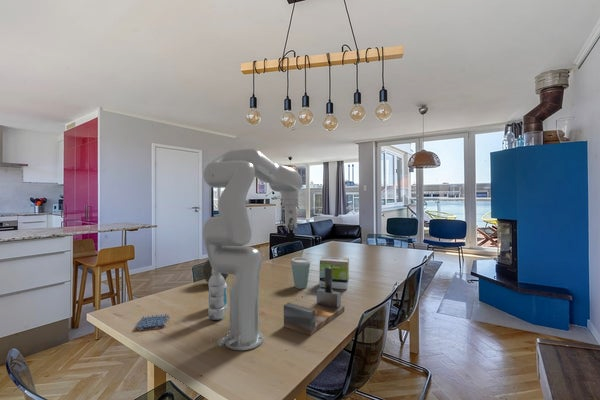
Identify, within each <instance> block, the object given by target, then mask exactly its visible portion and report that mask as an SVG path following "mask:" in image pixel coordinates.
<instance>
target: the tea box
mask: <svg viewBox="0 0 600 400" xmlns="http://www.w3.org/2000/svg"><path fill="white" fill-rule="evenodd" d="M349 259H350V258H349V257H347V258H346V257H345V258H344V257H330V256H322V257H321V258H320V260H319V276H318V277H319V281H318V282H319V288H325V267H331V268H332V289H337V290H339V289H341V290H348V287H349V283H350V282H349V280H350V279H349V276H350V274H349V273H350V271H349V270H350V267H349V265H350V260H349Z"/></svg>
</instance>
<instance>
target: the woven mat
mask: <svg viewBox="0 0 600 400" xmlns="http://www.w3.org/2000/svg"><path fill="white" fill-rule="evenodd" d="M170 318H171V317H170V316H169V314H167V313H166V314H160V315H158V314H156V315H151V316H149V315H147V316H142V318H140V320H139V321H138V323H137V325H135V329H136V330H135V331H136V332H138V331H137V330H138V328H139V330H141V331H140V332H143V330H145V331H151V329H153V330H159V329H160V330H161V329H166V327H167V326H168V322H169V320H170ZM148 329H149V330H148Z"/></svg>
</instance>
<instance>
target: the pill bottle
mask: <svg viewBox="0 0 600 400" xmlns="http://www.w3.org/2000/svg"><path fill="white" fill-rule="evenodd" d="M223 278H224V277H223ZM227 284H228V283H226V282H225V286H224V307H225V310H226V309H227V307H228V301H227V299H228V285H227ZM209 303H210V293H209V292H208V304H209Z"/></svg>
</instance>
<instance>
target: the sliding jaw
mask: <svg viewBox="0 0 600 400" xmlns="http://www.w3.org/2000/svg"><path fill="white" fill-rule="evenodd" d="M341 294H342V293H341V292H339V291H335V290H333V288H332V268H331V267H325V287H324V288H322V287H319V289H316V303H318V304H322V305H326V306H330V307H334V308H338V307H340V306H342V305H341V304H342V302H341V300H342V299H341Z"/></svg>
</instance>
